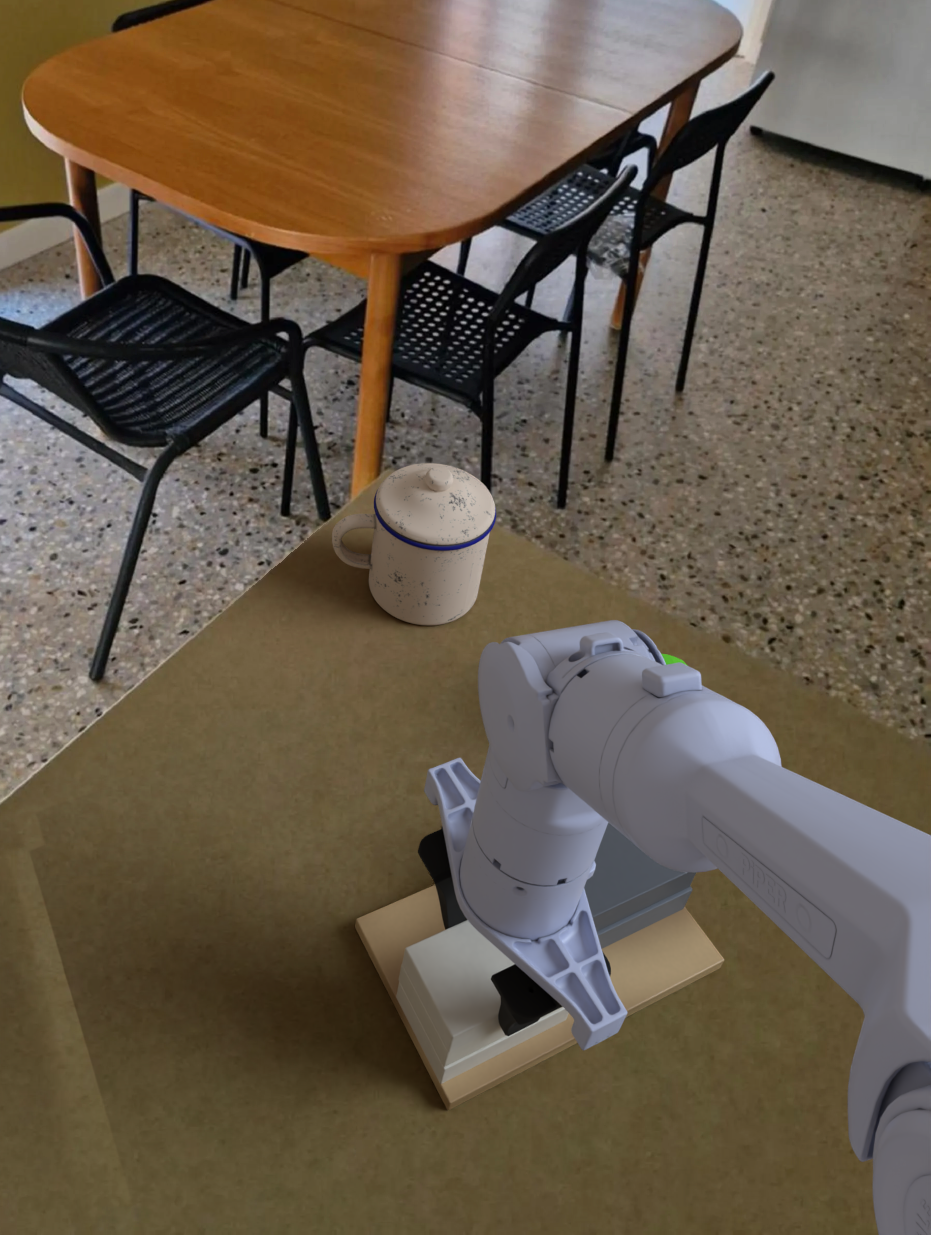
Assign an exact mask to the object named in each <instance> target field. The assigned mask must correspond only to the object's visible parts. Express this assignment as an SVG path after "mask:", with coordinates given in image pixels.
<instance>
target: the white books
mask: <svg viewBox="0 0 931 1235" xmlns="http://www.w3.org/2000/svg"><path fill="white" fill-rule="evenodd" d="M396 998H397V1000H398V1002H399V1004H400V1006H401V1008H402V1010H403V1012H404V1014H405V1016H406V1018H407V1020H408V1021H409V1023H410V1025H411V1027H412V1029H413V1031H414V1033H415V1035H416V1037H417V1039H418V1041H419V1043H420V1045H421V1047H422V1049H423V1051H424V1053H425V1055H426V1057H427V1059H428V1061H429V1063H430V1065H431V1067H432V1069H433V1071H434V1073H435V1074H436V1076H437V1078H438V1080H439V1082H440V1084H442V1083H444V1082H446V1081H448V1080H450V1079H452V1078H454V1077H456V1076H458V1075H460V1074H462V1073H464V1072H465V1071H467V1070H469V1069H471V1068H473V1067H475V1066H477V1065H479V1064H481V1063H483V1062H485V1061H487V1060H489V1059H491V1058H493V1057H495V1056H497V1055H499V1054H501V1053H503V1052H505V1051H506V1050H508V1049H510V1048H512V1047H514V1046H516V1045H518V1044H520V1043H522V1042H524V1041H526V1040H528V1039H530V1038H532V1037H534V1036H536V1035H538V1034H540V1033H542V1032H544V1031H546V1030H548V1029H549V1028H551V1027H553V1026H555V1025H557V1024H559V1023H561V1022H563V1021H565V1020H566V1019H567V1016H568V1014H569V1013H568V1011H567V1010H565V1009H564V1008H563V1007H561V1008H559V1009H557V1010H555V1011H553V1012H551V1013H549V1014H547V1015H545V1016H543V1017H541V1018H540V1019H539V1020H538V1022H536V1023H534V1024H532V1025H530V1026H528V1027H526V1028H524V1029H522V1030H520V1031H518V1032H516V1033H514V1034H512V1035H510V1036H506V1035H505V1034H504V1032H503V1030H502V1028H501V1027H499V1028H497V1029H495V1030H493V1031H491V1032H489V1033H487V1034H485V1035H483V1036H481V1037H479V1038H477V1039H475V1040H473V1041H471V1042H469V1043H467V1044H465V1045H463V1046H461V1047H459V1048H457V1049H455V1050H453V1051H451V1052H448V1051H447V1049H446V1047H445V1045H444V1044H443V1042H442V1040H441V1038H440V1036H439V1034H438V1032H437V1030H436V1028H435V1026H434V1024H433V1023H432V1021H431V1019H430V1017H429V1015H428V1013H427V1011H426V1009H425V1007H424V1005H423V1004H422V1002H421V1000H420V998H419V996H418V994H417V992H416V990H415V988H414V986H413V984H412V983H411V981H410V979H409V977H408V975H407V973H406V971H405V969H404V967H403V965H401V970H400V975H399V985H398V990H397V995H396Z"/></svg>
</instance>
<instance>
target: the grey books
mask: <svg viewBox="0 0 931 1235" xmlns="http://www.w3.org/2000/svg"><path fill="white" fill-rule="evenodd" d="M594 861H595V864H596V867H595V871H594V874H593V876H592V877H591V878H589V879H587V881H586V884H585V886H584V890H585V893H586V897H587V900H588V904H589V907H590V911H591V914H592V918H593V921H594V925H595V928H596V932H597V935H598V938H599V942H600V945H601V949H603V948H605V947H607V946H609V945H611V944H613V943H615V942H617V941H619V940H621V939H623V938H625V937H627V936H629V935H631V934H633V933H635V932H637V931H639V930H641V929H643V928H645V927H647V926H649V925H652V924H654V923H656V922H658V921H660V920H662V919H664V918H666V917H668V916H670V915H672V914H674V913H676V912H678V911H680V910H682V909H684V907H685V908H686V905H687V902H688V900H689V898H690V896H691V894H692V892H693V888H692V886H691V885H692V883H693V881H694V879H695V876H696V874H697V872H695V873H693V872H681V871H676V870H673V869H670V868H667V867H664V866H662V865H660V864H659V863H657V862H655V861H654V860H653V859H652V858H650V857H649V856H648V855H646V854H645V853H644V852H643V851H642V850H640V849H639V848H638V847H637V846H636V845H635V844H634V843H632V842H631V841H630V840H629V839H628V838H626V837H625V836H624V835H623V834H622V833H620V832H619V831H618V830H617V829H616V828H615V827H613V826H612V825H611V824H610V823H609V822H608V825H607V827H606V830H605V833H604V835H603V838H602V840H601V843H600V846H599V848H598V851H597V854H596V857H595V860H594Z"/></svg>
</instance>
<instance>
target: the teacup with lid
mask: <svg viewBox="0 0 931 1235" xmlns="http://www.w3.org/2000/svg"><path fill="white" fill-rule="evenodd" d="M373 511H374V513H353V514H349V515H347V516H345V517H343V518H341V519H340V520H339V521H337V522H336V523H335V525H334V527H333V528H332V532H331V544H332V548H333V551H334V553H335V554H336V556H337V557H338V558H339V559H340V561H342V562H343V563H344V564H346V565H347V566H350V567H353V568H357V569H364V570H365V569H366V570H369V572H368V573H369V574H368V587H369V590H370V593H371V595H372V597H373V599H374V600H375V602H376V603H377V604H378V605H379V607H381V609H383V610H384V611H385V612H386V613H388V614H389V615H391V616H392V617H395V618H396V619H398V620H401V621H403V622H406V623H410V624H413V625H420V626H439V625H440V626H441V625H444V624H448V623H451V622H454V621H456V620H458V619H460V618H462V617H464V616H465V615H466V614H467V613H468V612H469V611H470V610H471V609H472V608H473V606H474V604H475V603H476V600H477V598H478V595H479V590H480V584H481V579H482V574H483V568H484V565H485V559H486V554H487V549H488V545H489V544H488V543H489V538H490V534H491V531H492V530H493V528H494V526H495V523H496V520H497V509H496V504H495V501H494V498H493V496H492V494H491V491H490V490H489V489H488V487H487V486H486V485H485V484H484V483H483V482H482V481H481V480H479V479H478V478H477V477H475V476H474V475H472V474H471V473H469V472H468V471H465V470H463V469H461V468H458V467H455V466H453V465H448V464H443V463H433V462H424V463H422V462H421V463H415V464H410V465H407V466H404V467H400V468H399V469H396V470H395V471H393V472H391V473H390V474H389V475H388V476H386V477H385V478H384V479H383V480H382V482H381V483H380V484H379V486H378V488H377V489H376V492H375V494H374V498H373ZM358 529H370V530H371V529H373V535H372V544H371V554H367V553H359V552H355V551H353V550H351V549H349V548H348V547H347V546H346V545H345V544H344V542H343V541H342V538H343V537H344V535H345V534H347V533H349V532H350V531H352V530H358Z"/></svg>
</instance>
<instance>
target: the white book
mask: <svg viewBox="0 0 931 1235" xmlns="http://www.w3.org/2000/svg"><path fill="white" fill-rule="evenodd" d="M402 965H403V967H404V969H405V971H406V973H407V975H408V977H409V979H410V981H411V983H412V984H413V986H414V988H415V990H416V992H417V994H418V996H419V998H420V1000H421V1002H422V1004H423V1005H424V1007H425V1009H426V1011H427V1013H428V1015H429V1017H430V1019H431V1021H432V1023H433V1024H434V1026H435V1028H436V1030H437V1032H438V1034H439V1036H440V1038H441V1040H442V1042H443V1044H444V1045H445V1047H446V1049H447V1051H448V1052H451V1051H453V1050H455V1049H457V1048H459V1047H461V1046H463V1045H465V1044H467V1043H469V1042H471V1041H473V1040H475V1039H477V1038H479V1037H481V1036H483V1035H485V1034H487V1033H489V1032H491V1031H493V1030H495V1029H497V1028H499V1027H500V1024H499V1020H498V1013H499V1009H500V1005H501V996H500V995H499V993H498V991H497V989H496V988H495V986H494V984H493V982H492V981H491V977H492V975H493V974H496V973H498V972H500V971H502V970H504V969H506V968H508V967H510V966H512V965H514V963H513V962H512V961H511V960H510V959H509V958H508V957H507V956H505V955H504V954H503V953H502V952H501V951H500V950H499V949H498V948H496V947H495V946H494V945H493V944H492V943H491V942H490V941H489V940H487V939H486V938H485V937H484V936H483V935H482V934H481V933H480V932H478V931H477V930H476V929H475V928H474V927H473V926H472V925H471V924H470V922H469V921H468V920H466V921H464V922H462V923H460V924H457V925H455V926H453V927H451V928H448V929H446V930H444V931H442V932H440V933H437V934H435V935H433V936H431V937H429V938H426V939H424V940H422V941H420V942H417V943H415V944H413V945H411V946H409V947H406V948H405V952H404V957H403V962H402Z"/></svg>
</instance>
